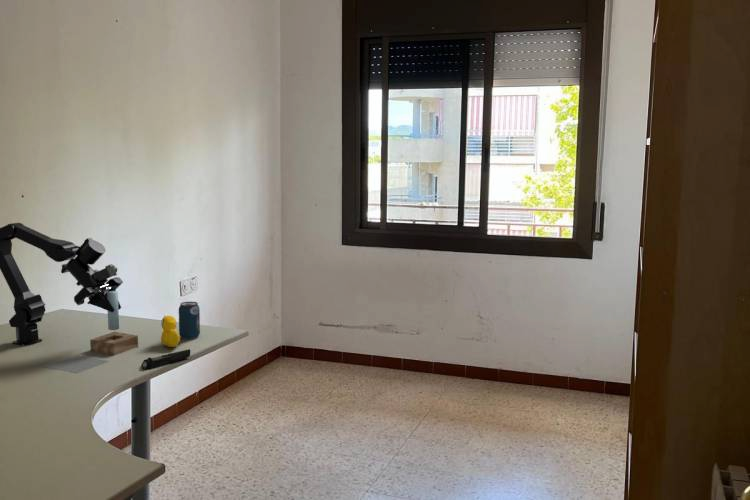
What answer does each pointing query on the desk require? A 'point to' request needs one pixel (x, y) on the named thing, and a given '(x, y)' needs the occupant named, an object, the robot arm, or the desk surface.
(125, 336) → the hole block
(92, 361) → the mat
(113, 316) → the peg
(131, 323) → the desk surface
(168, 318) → the duckling
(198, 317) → the soda can
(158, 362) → the electric trimmer
